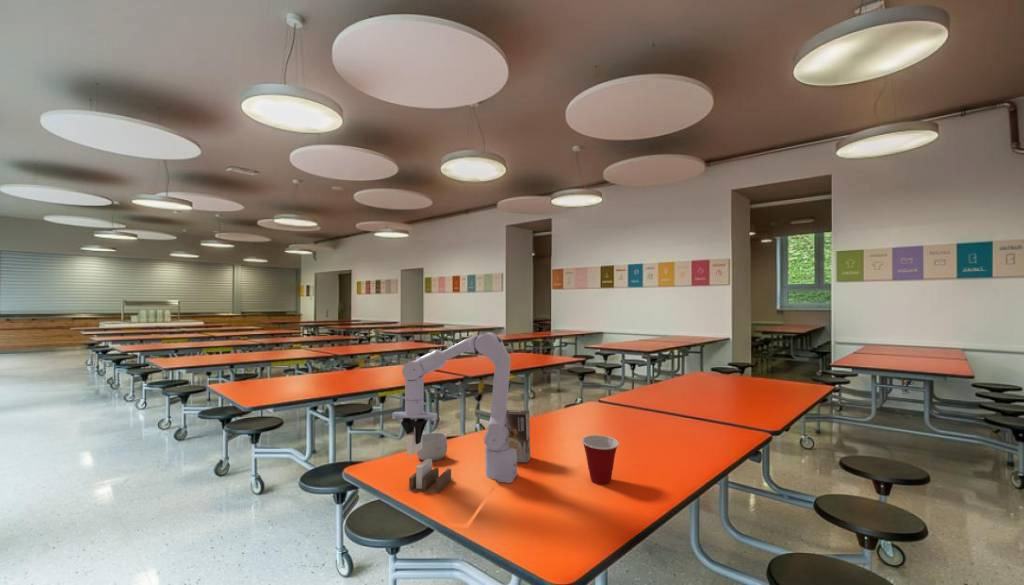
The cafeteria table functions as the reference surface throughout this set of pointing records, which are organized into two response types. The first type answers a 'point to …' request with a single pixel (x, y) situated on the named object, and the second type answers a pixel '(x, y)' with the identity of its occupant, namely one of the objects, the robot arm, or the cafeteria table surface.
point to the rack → (431, 481)
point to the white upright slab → (413, 444)
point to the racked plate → (422, 471)
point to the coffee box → (519, 433)
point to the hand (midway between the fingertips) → (414, 442)
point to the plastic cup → (600, 457)
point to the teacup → (433, 446)
